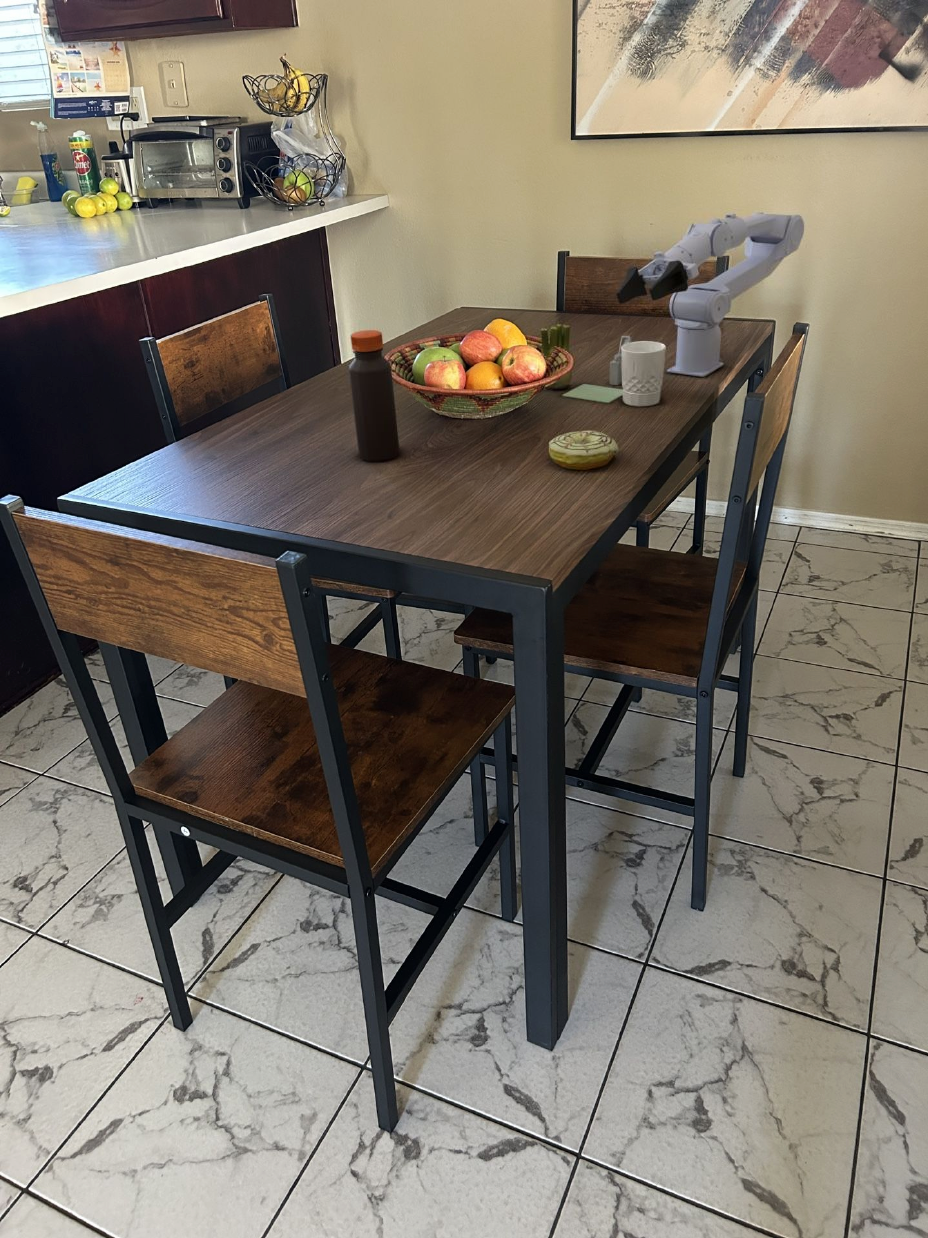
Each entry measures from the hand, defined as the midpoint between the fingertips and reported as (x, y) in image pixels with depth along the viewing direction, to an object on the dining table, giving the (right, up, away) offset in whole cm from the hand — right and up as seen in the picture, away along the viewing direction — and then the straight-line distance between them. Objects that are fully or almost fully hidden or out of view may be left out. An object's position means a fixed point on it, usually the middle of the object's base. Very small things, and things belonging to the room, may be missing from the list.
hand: (635, 296), depth 166 cm
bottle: (-45, -30, -10) cm, 55 cm away
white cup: (+2, -17, +6) cm, 19 cm away
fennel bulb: (-12, -12, +16) cm, 24 cm away
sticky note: (-5, -15, +11) cm, 19 cm away
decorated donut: (-12, -32, -18) cm, 39 cm away
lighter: (0, -10, +18) cm, 21 cm away
